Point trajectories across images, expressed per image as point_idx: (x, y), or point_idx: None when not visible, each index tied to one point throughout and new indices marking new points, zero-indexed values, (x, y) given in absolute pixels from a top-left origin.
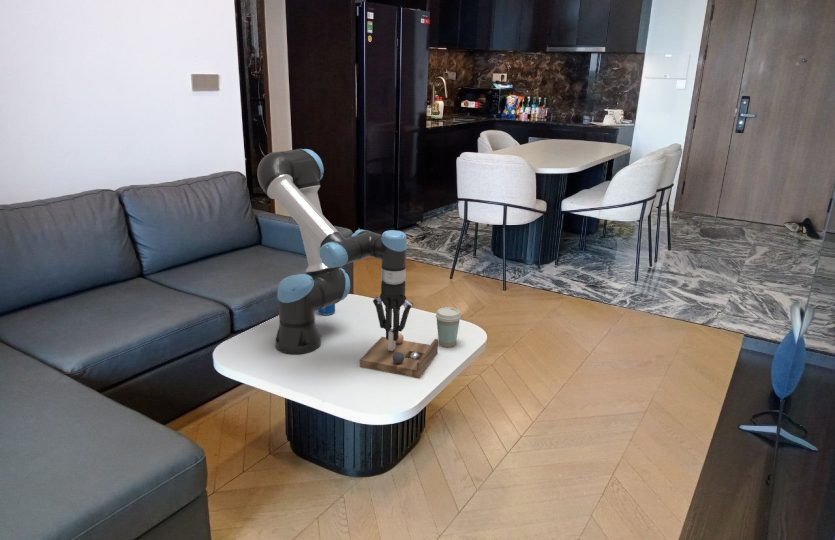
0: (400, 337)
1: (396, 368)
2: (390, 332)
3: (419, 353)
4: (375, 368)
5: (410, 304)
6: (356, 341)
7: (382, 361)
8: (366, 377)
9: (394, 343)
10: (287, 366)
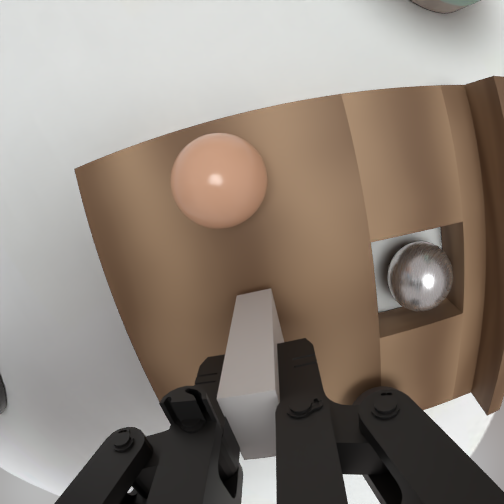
0: (254, 202)
1: None
2: (266, 455)
3: (432, 226)
4: None
5: None
6: (10, 233)
7: None
8: (272, 462)
9: (278, 331)
10: (50, 462)
